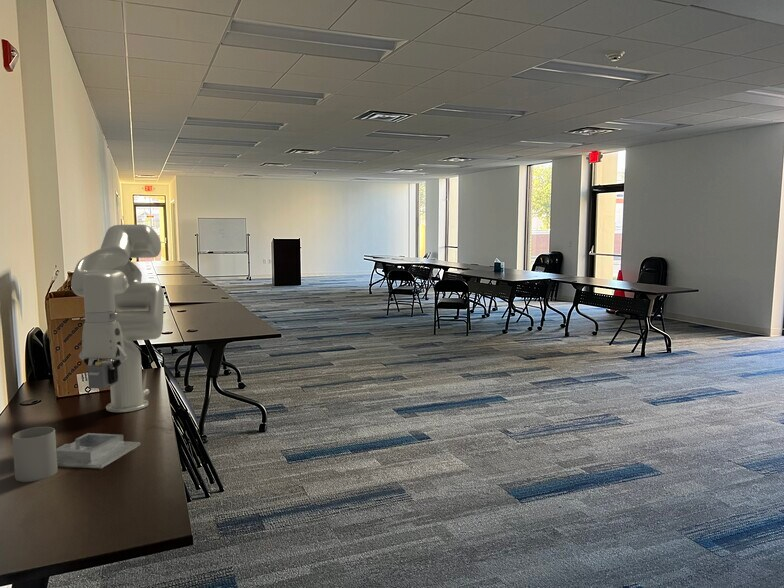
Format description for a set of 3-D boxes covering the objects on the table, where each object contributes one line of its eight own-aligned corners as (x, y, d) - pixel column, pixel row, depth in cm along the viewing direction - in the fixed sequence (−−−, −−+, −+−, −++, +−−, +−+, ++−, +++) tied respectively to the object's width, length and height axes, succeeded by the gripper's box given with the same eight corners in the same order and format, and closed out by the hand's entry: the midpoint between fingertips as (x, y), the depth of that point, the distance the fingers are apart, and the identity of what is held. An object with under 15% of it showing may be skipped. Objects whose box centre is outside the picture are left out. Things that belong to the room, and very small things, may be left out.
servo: (107, 380, 165) (106, 356, 164) (122, 380, 164) (120, 356, 163) (86, 389, 156) (84, 364, 155) (101, 389, 155) (99, 364, 154)
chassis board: (79, 442, 155) (78, 430, 155) (140, 445, 152) (139, 433, 152) (34, 464, 139) (33, 452, 139) (101, 468, 137) (100, 455, 136)
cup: (65, 469, 136) (63, 428, 135) (34, 483, 129) (31, 440, 128) (39, 465, 139) (36, 425, 138) (6, 478, 131) (3, 436, 130)
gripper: (136, 316, 160) (140, 379, 162) (82, 314, 163) (86, 377, 165) (120, 320, 153) (124, 387, 155) (63, 319, 155) (67, 384, 157)
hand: (104, 381), depth 160 cm, fingers closed on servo, 4 cm apart
